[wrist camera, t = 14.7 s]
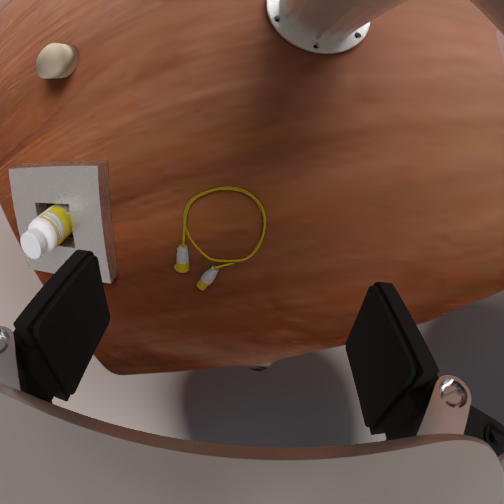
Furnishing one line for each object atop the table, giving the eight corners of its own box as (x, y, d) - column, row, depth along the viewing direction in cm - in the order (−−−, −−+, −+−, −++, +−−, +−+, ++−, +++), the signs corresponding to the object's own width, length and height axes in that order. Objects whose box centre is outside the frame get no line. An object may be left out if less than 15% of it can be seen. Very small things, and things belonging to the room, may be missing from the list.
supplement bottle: (59, 233, 40) (25, 264, 31) (49, 203, 37) (11, 229, 29) (83, 230, 40) (49, 262, 31) (73, 197, 37) (35, 225, 28)
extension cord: (147, 229, 40) (142, 235, 38) (237, 166, 36) (236, 170, 34) (198, 288, 45) (196, 296, 43) (286, 239, 41) (288, 246, 39)
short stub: (54, 49, 26) (38, 47, 22) (81, 42, 26) (65, 39, 22) (51, 80, 28) (34, 81, 25) (77, 75, 28) (61, 75, 25)
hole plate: (20, 163, 34) (8, 168, 31) (108, 160, 34) (97, 165, 32) (37, 259, 42) (28, 268, 40) (118, 272, 43) (111, 283, 41)
